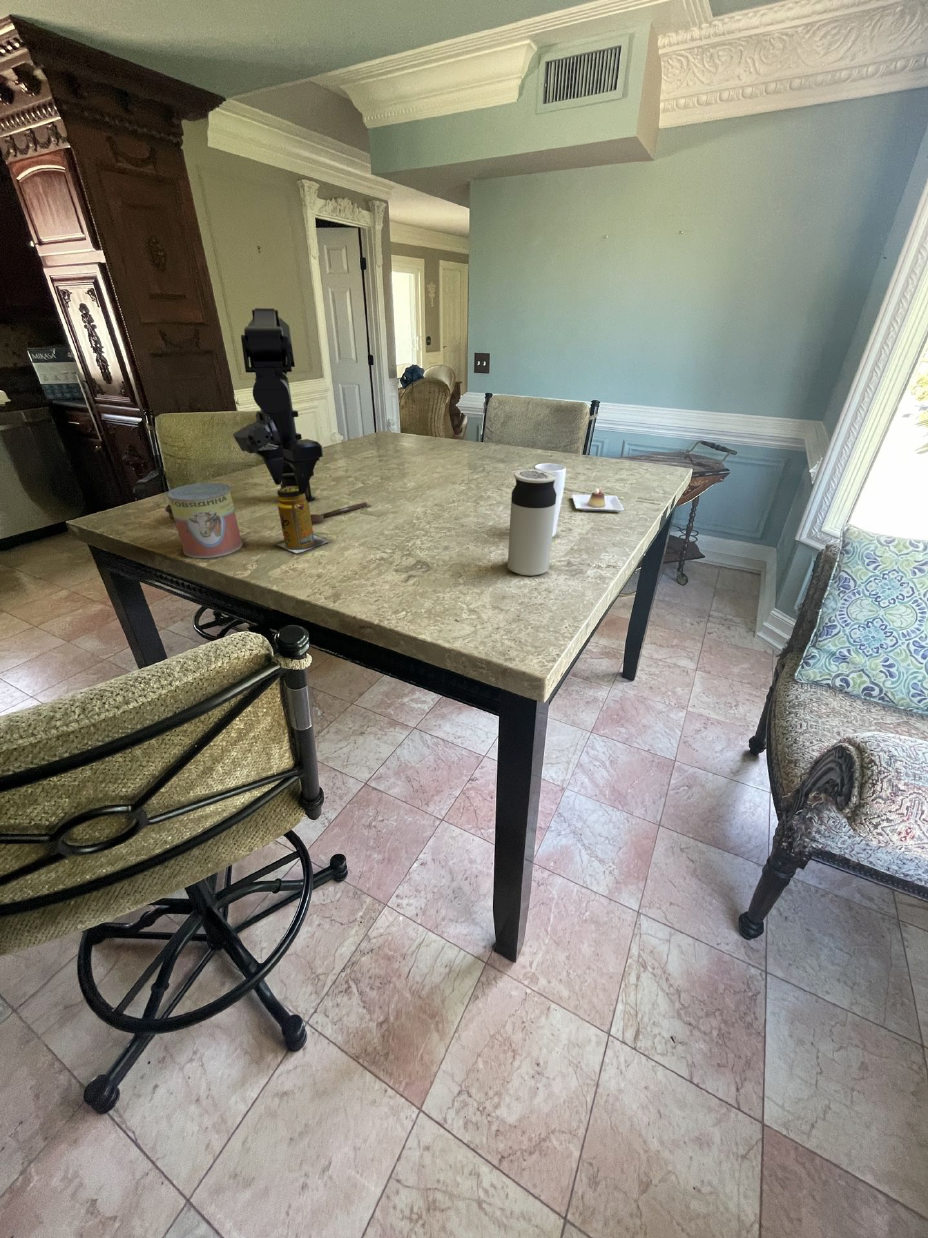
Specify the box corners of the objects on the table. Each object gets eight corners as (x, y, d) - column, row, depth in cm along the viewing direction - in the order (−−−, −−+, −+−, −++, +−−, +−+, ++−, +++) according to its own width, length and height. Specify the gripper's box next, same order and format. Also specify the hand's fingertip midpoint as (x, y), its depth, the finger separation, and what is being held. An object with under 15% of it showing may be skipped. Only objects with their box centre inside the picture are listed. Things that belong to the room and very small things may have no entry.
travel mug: (519, 579, 93) (527, 482, 83) (500, 563, 99) (504, 471, 90) (556, 572, 95) (567, 477, 86) (535, 557, 102) (543, 467, 92)
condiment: (276, 545, 106) (265, 489, 100) (310, 534, 111) (302, 480, 105) (296, 554, 102) (286, 496, 96) (331, 542, 107) (323, 487, 101)
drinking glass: (561, 531, 114) (568, 464, 107) (556, 541, 109) (563, 472, 101) (532, 527, 116) (537, 462, 109) (525, 537, 111) (530, 469, 103)
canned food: (184, 562, 98) (166, 502, 92) (182, 542, 107) (166, 486, 100) (245, 552, 103) (232, 494, 96) (239, 534, 111) (226, 480, 105)
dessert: (615, 499, 136) (618, 482, 133) (623, 514, 125) (626, 495, 123) (571, 498, 137) (573, 480, 134) (575, 512, 126) (577, 493, 124)
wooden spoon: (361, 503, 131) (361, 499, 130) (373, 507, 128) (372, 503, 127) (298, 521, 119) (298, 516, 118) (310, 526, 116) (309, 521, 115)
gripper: (210, 404, 93) (229, 487, 101) (260, 415, 82) (277, 507, 90) (266, 399, 100) (280, 477, 108) (318, 408, 89) (329, 495, 97)
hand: (290, 488), depth 101 cm, fingers open, 9 cm apart
